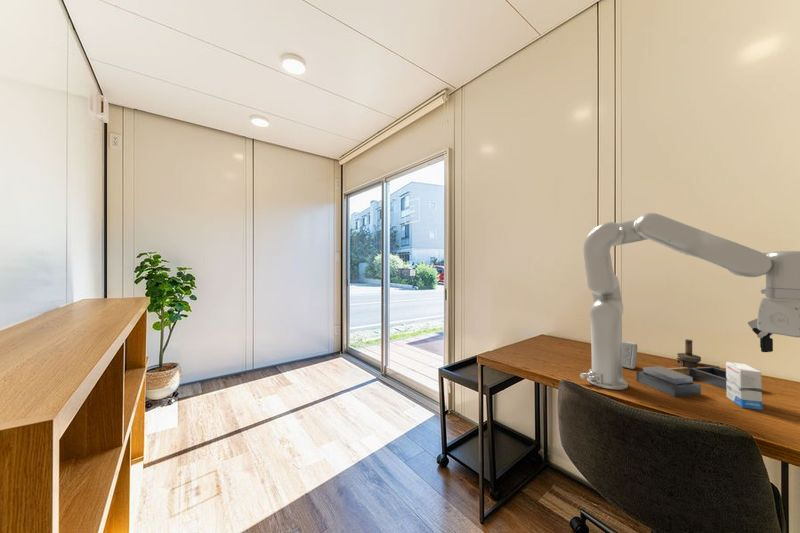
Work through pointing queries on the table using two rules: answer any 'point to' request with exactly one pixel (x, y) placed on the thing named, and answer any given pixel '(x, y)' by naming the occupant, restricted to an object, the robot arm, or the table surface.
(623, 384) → the robot arm
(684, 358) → the industrial component
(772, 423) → the table surface
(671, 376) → the grey case and lid
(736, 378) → the ink box
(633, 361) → the digital clock
